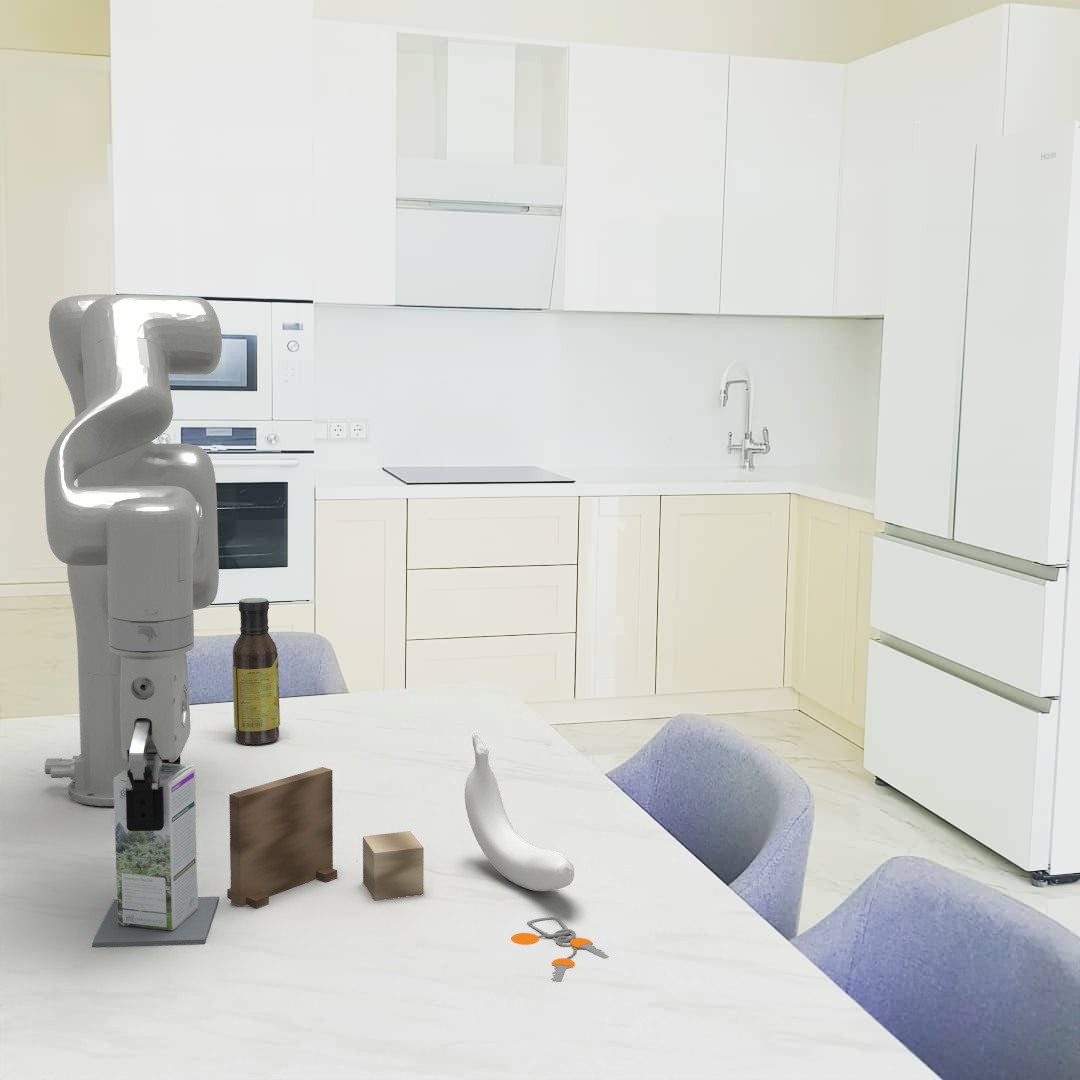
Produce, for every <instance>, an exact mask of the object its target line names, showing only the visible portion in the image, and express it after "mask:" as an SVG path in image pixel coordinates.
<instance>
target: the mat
mask: <svg viewBox="0 0 1080 1080" xmlns="http://www.w3.org/2000/svg"><path fill="white" fill-rule="evenodd" d="M219 902H220V896H198V909H197V910H196V911H195V912H194V913H192V914H191V915H190V916H189V917H188V918H187V919H186V920H185V921H184V922H183V923H182V924H180V925H179V926H178V927H177V928H175V929H174V930H161V929H152V928H142V927H133V926H123V925H118V912H117V909H118V907H117V898H114V899H113V902H112V903H111V905H110V907H109V908H108V911H107V913H106V915H105V917H104V918H103V921H102V922H101V925H100V926H99V929H98V930H97V931H96V934H95V936H94V938H93V940H92V942H91V947H92V948H99V947H101V948H102V947H133V946H161V945H162V946H164V945H165V946H167V945H168V946H169V945H171V946H172V945H198V944H199V945H200V944H201V945H202V944H203V945H204V943H205V944H206V942H207V939H208V935H209V933H210V929H211V927H212V923H213V920H214V917H215V915H216V912H217V908H218V905H219Z"/></svg>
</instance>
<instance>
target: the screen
mask: <svg viewBox="0 0 1080 1080" xmlns="http://www.w3.org/2000/svg"><path fill="white" fill-rule="evenodd" d="M228 795H229V798H228V799H229V804H228V805H229V860H230V861H229V862H230V864H229V865H230V868H229V870H230V871H229V872H230V888H227V889H226V893H227V896H226V897H227V898H229V899H230V903H231V904H233V905H235V906H238V907H241V908H242V907H244V906H248V907H252V908H254V909H259V908H261V907H264V906H267V905H270V897H271V896H273V895H277V894H279V893H281V892H284V891H287V890H289V889H292V888H294V887H298V886H300V885H302V884H305V883H308V882H310V881H313V880H316V879H317V880H320V881H322V882H325V883H327V882H330V881H333V880H335V879H337V878H338V869H335V868H334V866H333V865H334V862H333V861H334V849H333V848H334V843H333V842H334V841H333V839H334V838H333V837H334V836H333V835H334V834H333V831H334V828H333V827H334V826H333V825H334V824H333V817H334V816H333V814H334V813H333V812H334V811H333V809H334V807H333V769H330V768H327V767H324V766H322V767H317V768H314V769H312V770H307V771H304V772H300V773H297V774H294V775H291V776H288V777H287V776H286V777H283V778H280V779H278V780H277V779H276V780H274V781H270V782H267V783H263V784H260V785H256V786H253V787H250V788H246V789H242V790H240V791H239V790H238V791H237V792H233V793H230V794H228Z"/></svg>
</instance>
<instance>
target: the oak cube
mask: <svg viewBox="0 0 1080 1080" xmlns="http://www.w3.org/2000/svg"><path fill="white" fill-rule="evenodd" d="M424 849H425V848H424V846H423V844H422V843H420V841H419V840H418V838H417V837H416V836H415V835H414V833H413V832H412V831H411V830H409V831H408V830H406V831H398V832H390V833H389V832H388V833H381V834H371V835H363V836H362V883H363V885H364V886H365V888H366V890H367V891H368V893H369V894H370V895H371V898H372V899H373V901H374V902H375V901H384V900H385V899H386V900H391V899H392V900H394V899H400V898H401V897H402V898H407V897H406V896H410V897H415V896H414V895H418V896H423V895H424V881H425V880H424V875H425V874H424V869H425V868H424V867H425V866H424V864H425V863H424V861H425V860H424V859H425V857H424V854H425V853H424ZM422 894H423V895H422ZM398 897H400V898H398ZM393 898H394V899H393Z"/></svg>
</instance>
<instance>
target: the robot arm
mask: <svg viewBox="0 0 1080 1080" xmlns="http://www.w3.org/2000/svg"><path fill="white" fill-rule="evenodd" d="M48 318H49V319H48V329H49V336H50V337H49V338H50V342H51V347H52V351H53V355H54V358H55V360H56V363H57V366H58V369H59V370H60V372H61V375H62V377H63V380H64V381H65V384H66V387H67V388H68V391H69V394H70V397H71V401H72V403H73V409H74V417H75V418H74V419H73V420H71V422H70V423H69V424H68V425H67V426H66V427H65V428H64V429H63V430H62V432H61V433H60V435H59V436H58V437H57V439H56V441H55V442H54V444H53V445H52V447H51V450H50V452H49V455H48V457H47V460H46V466H45V470H44V483H43V484H44V485H43V486H44V503H45V504H44V505H45V507H44V508H45V526H46V527H45V528H46V533H47V535H46V536H47V541H48V545H49V548H50V550H51V551H52V554H54V556H55V557H56V559H58V560H59V561H60V562H61V563H63V564H65V565H67V566H66V569H67V570H66V571H67V572H66V573H67V574H66V575H67V581H68V587H69V591H70V592H69V593H70V597H71V603H72V608H73V615H74V624H75V631H76V632H75V633H76V644H77V645H76V647H77V673H78V674H77V675H78V677H77V678H78V680H77V681H78V707H79V710H78V711H79V742H80V743H79V745H80V748H79V749H80V753H79V755H73V756H72V758H65V759H64V758H61V757H60V758H46V759H45V764H44V772H45V775H50V778H51V779H63V778H69V779H70V780H71V782H70V783H69V784H68V786H67V789H68V790H67V791H68V793H67V794H68V796H69V798H70V799H71V800H73V801H75V802H77V803H80V804H84V805H88V806H96V807H114V786H113V780H114V777H116V776H117V775H118V774H120V773H121V772H122V771H123V770H125V769H126V768H128V772H127V782H126V821H127V829H128V830H129V831H160V830H162V828H163V826H164V798H163V787H160V777H161V767H162V763H171V764H181V755H182V753H183V750H184V748H185V746H186V744H187V742H188V740H189V737H190V734H191V713H190V710H191V709H190V693H189V692H190V691H189V675H188V673H189V672H188V663H187V662H188V661H187V653H188V652H190V651H192V650H193V649H194V647H195V635H194V634H195V629H194V628H195V626H194V625H195V624H194V623H195V622H194V621H195V620H194V619H195V618H194V611H197V610H201V609H205V608H207V607H210V605H212V604H213V602H214V601H215V599H216V597H217V595H218V590H219V580H220V579H219V578H220V576H219V575H220V574H219V573H220V572H219V571H220V568H219V567H220V566H219V565H220V564H219V563H220V562H219V534H218V533H219V532H218V499H217V498H218V497H217V496H218V495H217V483H216V482H217V480H216V475H215V474H216V472H215V469H214V468H215V467H214V465H213V462H212V459H211V456H210V455H209V454H208V452H207V451H206V450H205V449H204V448H203V447H201V446H198V445H196V444H190V443H154V442H153V441H154V440H156V439H157V438H159V437H160V436H161V435H163V434H164V433H165V431H167V429H168V428H169V427H170V425H171V422H172V420H173V417H174V405H173V398H172V392H171V384H170V377H169V375H187V376H188V375H191V376H192V375H201V376H202V375H203V376H204V375H210V374H212V373H213V372H214V371H215V370H216V369H217V368H218V365H219V364H220V359H221V357H222V352H223V351H222V350H223V348H222V346H223V336H222V329H221V325H220V320H219V317H218V314H217V313H216V311H215V309H214V307H213V305H211V303H210V302H209V301H208V300H207V299H205V298H202V297H199V296H191V295H190V296H186V295H159V294H158V295H157V294H102V293H101V294H100V293H99V294H97V293H96V294H80V295H73V296H68V297H65V298H62V299H60V300H59V301H56V303H55V304H54V305H52V308H51V309H50V312H49V317H48ZM76 481H77V486H75V482H76ZM146 765H154V766H153V776H152V770H151V769H150V767H146Z"/></svg>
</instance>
